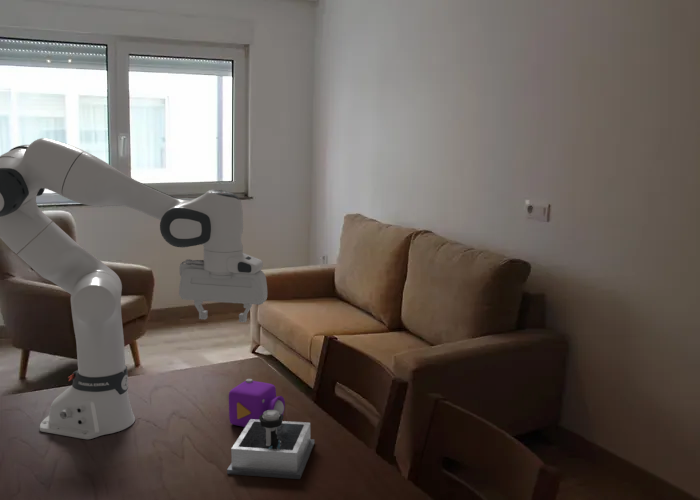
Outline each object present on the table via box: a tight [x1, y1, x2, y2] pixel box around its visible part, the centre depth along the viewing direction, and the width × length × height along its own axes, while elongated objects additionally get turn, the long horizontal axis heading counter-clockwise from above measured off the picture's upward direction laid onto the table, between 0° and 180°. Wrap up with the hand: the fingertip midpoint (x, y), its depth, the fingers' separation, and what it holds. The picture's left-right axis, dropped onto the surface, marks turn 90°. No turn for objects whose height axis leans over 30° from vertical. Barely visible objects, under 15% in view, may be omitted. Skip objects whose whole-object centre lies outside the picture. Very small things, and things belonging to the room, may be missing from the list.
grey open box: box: [226, 419, 315, 480], centre depth 156 cm, size 16×17×6 cm
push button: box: [259, 410, 284, 449], centre depth 156 cm, size 7×5×10 cm
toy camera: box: [228, 378, 286, 428], centre depth 174 cm, size 11×14×10 cm
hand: (223, 320), depth 160 cm, fingers open, 8 cm apart
